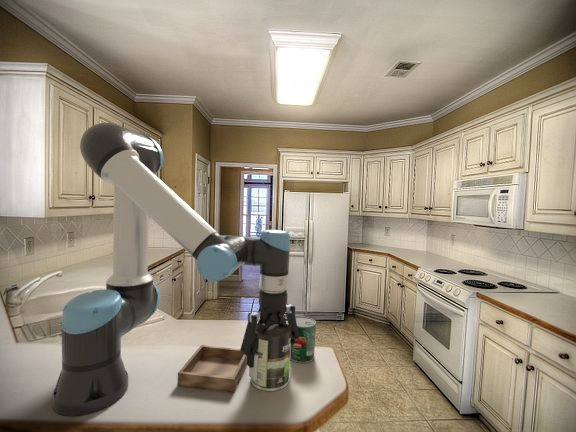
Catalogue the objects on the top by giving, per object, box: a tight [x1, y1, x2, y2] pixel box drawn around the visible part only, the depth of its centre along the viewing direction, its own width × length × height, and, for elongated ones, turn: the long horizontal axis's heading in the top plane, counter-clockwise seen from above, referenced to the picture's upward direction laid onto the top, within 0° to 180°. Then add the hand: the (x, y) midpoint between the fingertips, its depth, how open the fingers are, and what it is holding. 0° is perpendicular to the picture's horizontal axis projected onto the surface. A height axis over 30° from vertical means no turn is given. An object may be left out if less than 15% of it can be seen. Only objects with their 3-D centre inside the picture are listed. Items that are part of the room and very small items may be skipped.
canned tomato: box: [290, 316, 317, 364], centre depth 92 cm, size 8×8×11 cm
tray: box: [177, 344, 248, 394], centre depth 82 cm, size 15×15×4 cm
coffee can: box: [250, 322, 291, 392], centre depth 80 cm, size 10×10×14 cm
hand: (270, 371), depth 80 cm, fingers closed on coffee can, 10 cm apart
